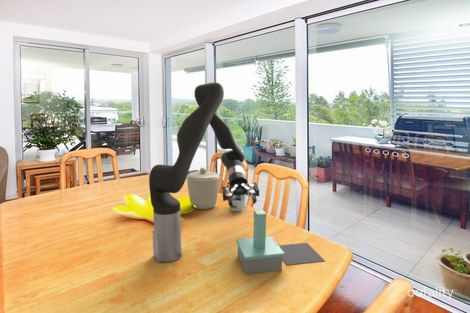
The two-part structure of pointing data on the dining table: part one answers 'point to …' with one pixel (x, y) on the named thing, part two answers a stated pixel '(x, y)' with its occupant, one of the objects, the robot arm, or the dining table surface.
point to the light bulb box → (238, 203)
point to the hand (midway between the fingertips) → (243, 203)
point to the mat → (299, 254)
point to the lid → (259, 241)
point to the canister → (203, 188)
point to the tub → (260, 264)
